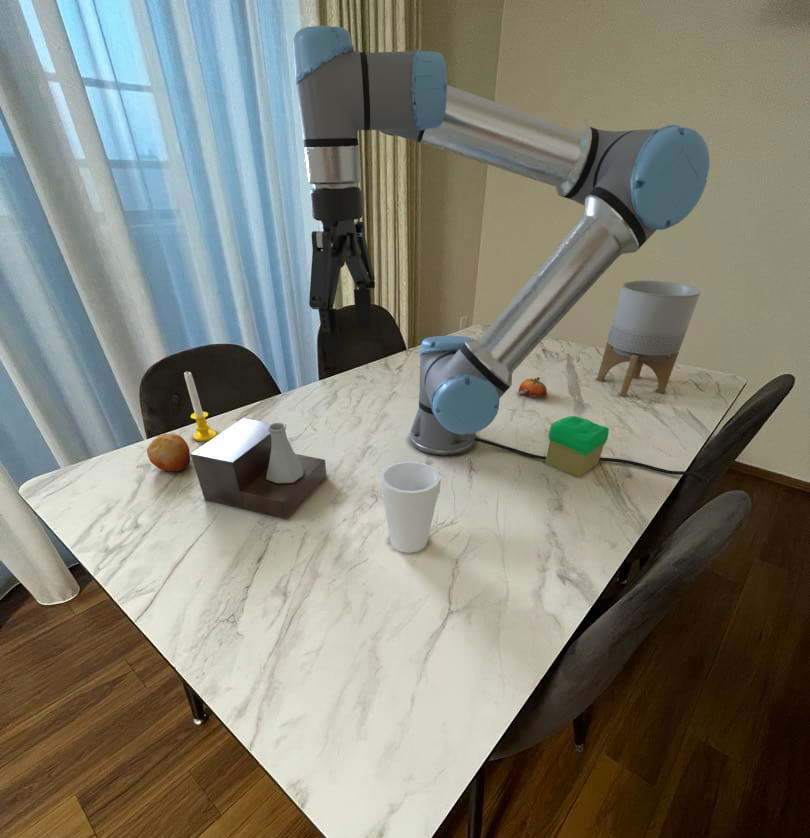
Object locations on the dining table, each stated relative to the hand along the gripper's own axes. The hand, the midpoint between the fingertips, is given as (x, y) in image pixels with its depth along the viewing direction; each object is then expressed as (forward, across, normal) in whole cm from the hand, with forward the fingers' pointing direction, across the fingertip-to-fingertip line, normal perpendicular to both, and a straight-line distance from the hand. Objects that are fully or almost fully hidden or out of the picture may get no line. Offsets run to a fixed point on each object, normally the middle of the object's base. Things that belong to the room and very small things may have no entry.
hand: (349, 340), depth 81 cm
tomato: (+29, -55, +29) cm, 68 cm away
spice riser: (+26, +11, -16) cm, 33 cm away
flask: (+23, +11, -11) cm, 27 cm away
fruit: (+26, +11, -39) cm, 48 cm away
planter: (+30, -72, +55) cm, 96 cm away
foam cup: (+27, +18, +16) cm, 36 cm away
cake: (+29, -20, +41) cm, 54 cm away
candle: (+26, -4, -42) cm, 49 cm away
